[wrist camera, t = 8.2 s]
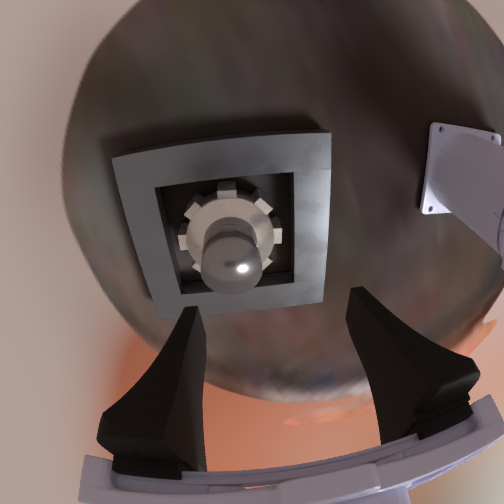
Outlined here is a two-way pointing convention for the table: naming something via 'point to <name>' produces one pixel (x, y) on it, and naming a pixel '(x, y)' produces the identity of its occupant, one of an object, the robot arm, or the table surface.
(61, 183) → the table surface
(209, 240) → the planet gear
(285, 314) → the table surface
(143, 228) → the carrier plate
